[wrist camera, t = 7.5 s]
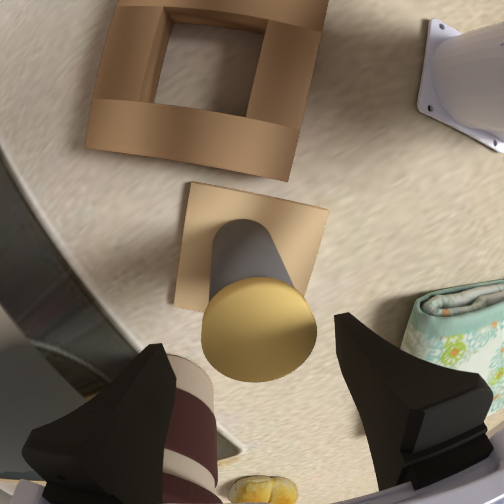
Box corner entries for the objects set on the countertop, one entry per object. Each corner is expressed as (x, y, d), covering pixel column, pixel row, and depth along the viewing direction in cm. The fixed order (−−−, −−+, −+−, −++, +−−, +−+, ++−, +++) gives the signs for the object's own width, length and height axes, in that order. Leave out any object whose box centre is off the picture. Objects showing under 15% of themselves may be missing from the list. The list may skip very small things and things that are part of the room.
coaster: (327, 209, 21) (329, 211, 21) (293, 322, 24) (294, 327, 24) (192, 181, 20) (191, 182, 20) (175, 302, 23) (173, 306, 23)
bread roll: (283, 500, 36) (285, 522, 32) (223, 493, 35) (222, 516, 31) (309, 476, 33) (313, 500, 30) (243, 468, 32) (243, 495, 28)
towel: (502, 387, 30) (519, 410, 26) (366, 428, 30) (378, 463, 26) (547, 265, 24) (576, 284, 19) (399, 287, 24) (428, 320, 19)
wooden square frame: (319, 8, 16) (330, -8, 13) (281, 175, 20) (287, 182, 17) (143, -16, 15) (130, -33, 12) (104, 145, 19) (84, 148, 16)
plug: (268, 208, 20) (308, 276, 11) (281, 270, 22) (322, 367, 13) (201, 225, 20) (185, 305, 11) (218, 285, 22) (219, 391, 13)
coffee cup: (240, 412, 28) (240, 557, 14) (145, 420, 28) (114, 547, 14) (211, 331, 24) (189, 513, 10) (102, 345, 25) (31, 488, 11)
